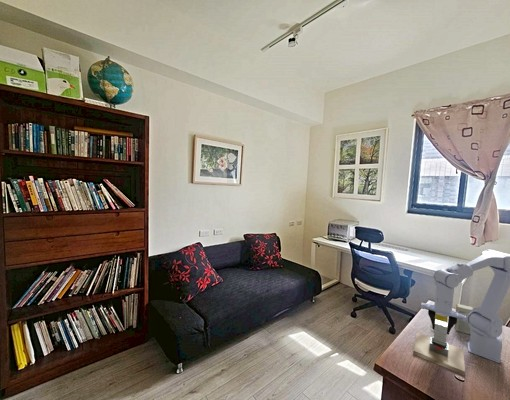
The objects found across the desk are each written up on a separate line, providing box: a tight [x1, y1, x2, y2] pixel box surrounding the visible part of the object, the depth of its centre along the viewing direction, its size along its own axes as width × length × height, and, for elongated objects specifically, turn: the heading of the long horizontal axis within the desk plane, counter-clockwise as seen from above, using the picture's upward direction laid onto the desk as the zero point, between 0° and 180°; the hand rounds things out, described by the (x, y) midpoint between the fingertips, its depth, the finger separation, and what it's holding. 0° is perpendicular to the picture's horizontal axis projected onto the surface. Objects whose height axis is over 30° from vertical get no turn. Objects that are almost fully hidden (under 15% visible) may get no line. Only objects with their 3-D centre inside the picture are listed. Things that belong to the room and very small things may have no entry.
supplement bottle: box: [435, 313, 449, 324], centre depth 117 cm, size 5×5×10 cm
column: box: [432, 319, 448, 346], centre depth 97 cm, size 4×4×8 cm
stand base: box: [412, 332, 466, 376], centre depth 97 cm, size 16×16×2 cm
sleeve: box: [429, 336, 449, 357], centre depth 97 cm, size 6×7×3 cm
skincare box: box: [454, 303, 474, 335], centre depth 114 cm, size 6×4×12 cm
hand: (440, 330), depth 97 cm, fingers closed on column, 4 cm apart
